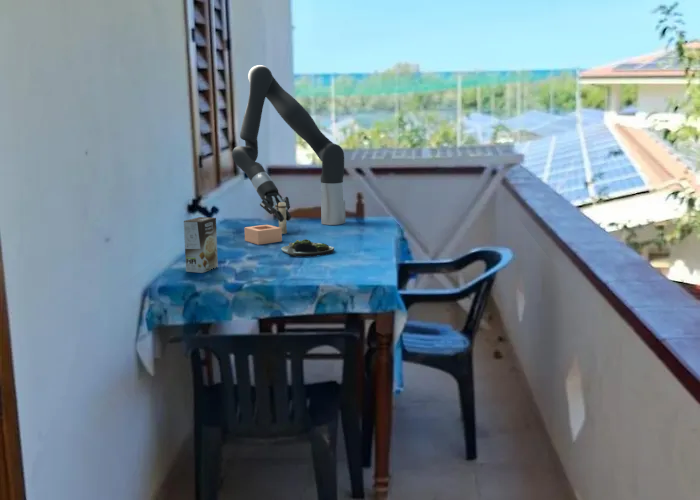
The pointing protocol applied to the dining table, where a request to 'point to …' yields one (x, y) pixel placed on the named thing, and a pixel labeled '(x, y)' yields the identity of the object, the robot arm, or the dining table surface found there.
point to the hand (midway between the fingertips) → (285, 219)
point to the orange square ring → (263, 234)
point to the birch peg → (283, 211)
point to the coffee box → (200, 244)
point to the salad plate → (307, 248)
